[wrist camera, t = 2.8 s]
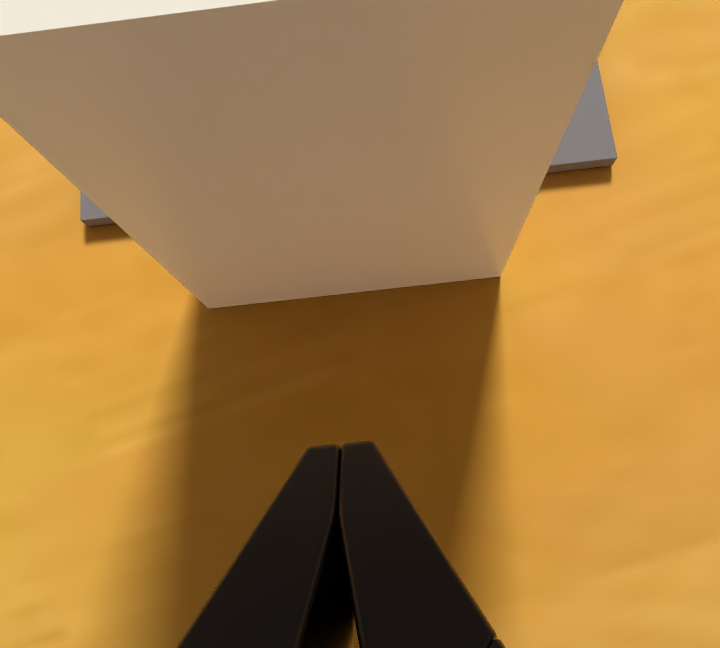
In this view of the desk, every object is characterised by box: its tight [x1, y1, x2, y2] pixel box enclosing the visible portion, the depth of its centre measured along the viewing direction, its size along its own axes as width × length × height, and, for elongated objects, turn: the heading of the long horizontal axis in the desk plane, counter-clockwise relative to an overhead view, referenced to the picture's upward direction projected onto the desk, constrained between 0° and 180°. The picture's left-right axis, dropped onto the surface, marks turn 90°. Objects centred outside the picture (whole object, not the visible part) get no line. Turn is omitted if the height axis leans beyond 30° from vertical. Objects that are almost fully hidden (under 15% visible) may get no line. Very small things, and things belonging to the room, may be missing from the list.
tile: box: [0, 0, 623, 309], centre depth 12 cm, size 2×7×10 cm, turn 95°
